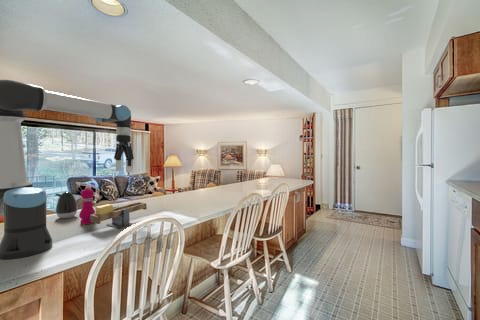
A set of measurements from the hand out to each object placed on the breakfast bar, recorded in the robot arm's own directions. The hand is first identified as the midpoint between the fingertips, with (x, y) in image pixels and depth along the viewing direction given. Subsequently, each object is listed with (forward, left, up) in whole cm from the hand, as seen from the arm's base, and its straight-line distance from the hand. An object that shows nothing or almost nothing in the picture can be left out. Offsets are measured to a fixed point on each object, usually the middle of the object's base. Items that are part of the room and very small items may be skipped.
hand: (123, 171), depth 130 cm
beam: (-9, -12, -22) cm, 26 cm away
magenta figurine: (-16, +7, -27) cm, 32 cm away
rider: (-17, -12, -20) cm, 29 cm away
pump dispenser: (-17, +29, -27) cm, 43 cm away
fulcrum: (-9, -12, -27) cm, 31 cm away
